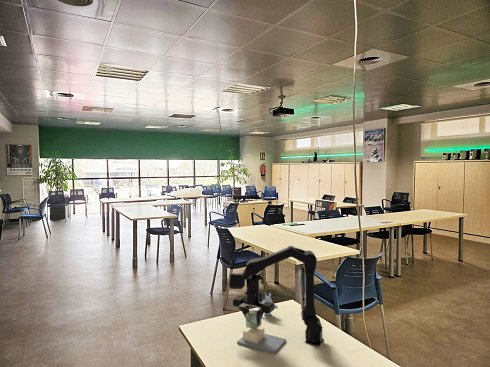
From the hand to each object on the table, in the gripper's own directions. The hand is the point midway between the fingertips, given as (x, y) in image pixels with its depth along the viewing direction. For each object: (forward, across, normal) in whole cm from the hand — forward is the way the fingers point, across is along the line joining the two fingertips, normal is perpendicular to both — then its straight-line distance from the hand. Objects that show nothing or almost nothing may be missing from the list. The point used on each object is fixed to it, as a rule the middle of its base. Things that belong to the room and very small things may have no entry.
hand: (253, 323), depth 150 cm
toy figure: (+8, +6, -26) cm, 28 cm away
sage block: (+1, 0, 0) cm, 1 cm away
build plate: (+8, -4, 0) cm, 9 cm away
